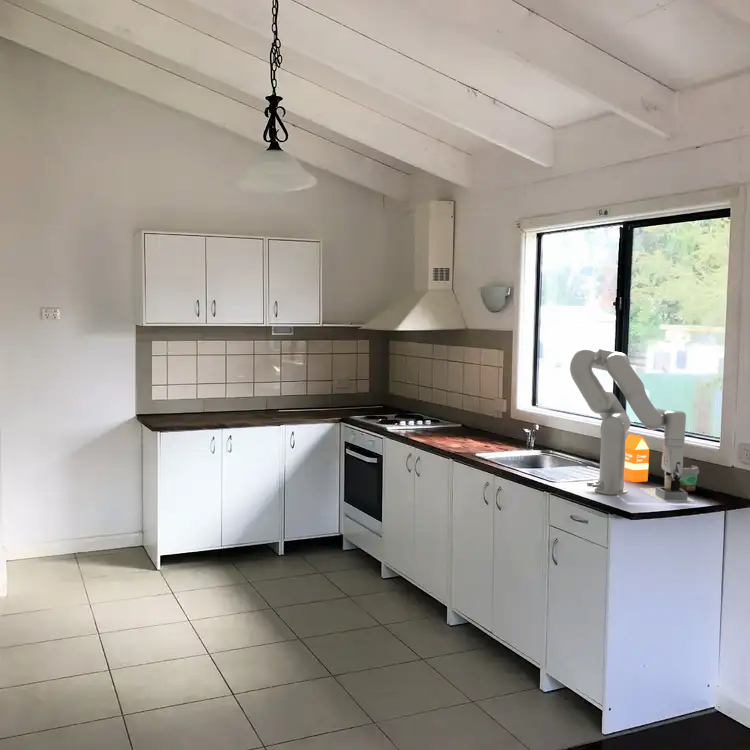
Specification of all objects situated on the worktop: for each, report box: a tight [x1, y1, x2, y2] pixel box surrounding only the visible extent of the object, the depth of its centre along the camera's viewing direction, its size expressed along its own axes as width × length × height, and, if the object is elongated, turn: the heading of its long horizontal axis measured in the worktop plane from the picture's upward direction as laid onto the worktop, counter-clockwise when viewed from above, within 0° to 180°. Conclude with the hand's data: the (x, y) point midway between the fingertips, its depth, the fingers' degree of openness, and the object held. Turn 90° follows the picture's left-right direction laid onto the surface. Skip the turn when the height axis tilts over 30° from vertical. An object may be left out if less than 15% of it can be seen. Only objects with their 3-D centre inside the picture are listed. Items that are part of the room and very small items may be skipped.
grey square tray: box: [655, 486, 689, 500], centre depth 321 cm, size 9×9×3 cm
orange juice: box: [624, 433, 650, 483], centre depth 353 cm, size 8×9×20 cm
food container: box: [674, 464, 700, 492], centre depth 335 cm, size 12×6×10 cm, turn 126°
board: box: [638, 487, 695, 502], centre depth 326 cm, size 14×22×1 cm, turn 2°
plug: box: [664, 475, 678, 492], centre depth 320 cm, size 5×5×8 cm
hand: (671, 488), depth 320 cm, fingers open, 6 cm apart
